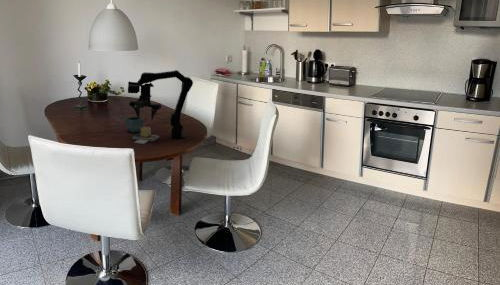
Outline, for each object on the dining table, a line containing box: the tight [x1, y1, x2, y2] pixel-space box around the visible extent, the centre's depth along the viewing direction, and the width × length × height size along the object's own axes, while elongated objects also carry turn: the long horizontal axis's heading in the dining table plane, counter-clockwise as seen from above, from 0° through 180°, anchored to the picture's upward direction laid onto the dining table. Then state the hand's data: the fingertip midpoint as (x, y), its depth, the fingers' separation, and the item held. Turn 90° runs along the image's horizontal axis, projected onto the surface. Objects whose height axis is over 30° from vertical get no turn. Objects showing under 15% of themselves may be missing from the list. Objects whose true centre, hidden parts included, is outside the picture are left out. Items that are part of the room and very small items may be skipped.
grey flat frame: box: [131, 132, 160, 142], centre depth 232 cm, size 14×8×2 cm, turn 79°
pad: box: [134, 139, 150, 145], centre depth 225 cm, size 6×6×1 cm
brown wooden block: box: [140, 126, 152, 138], centre depth 232 cm, size 4×4×7 cm
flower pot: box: [124, 116, 144, 133], centre depth 245 cm, size 9×9×9 cm
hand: (145, 118), depth 229 cm, fingers open, 9 cm apart
